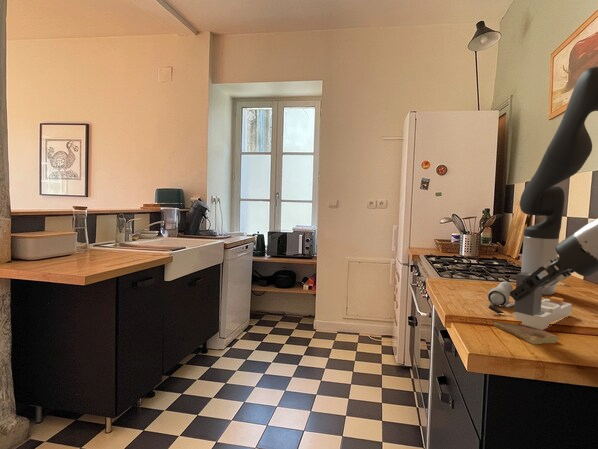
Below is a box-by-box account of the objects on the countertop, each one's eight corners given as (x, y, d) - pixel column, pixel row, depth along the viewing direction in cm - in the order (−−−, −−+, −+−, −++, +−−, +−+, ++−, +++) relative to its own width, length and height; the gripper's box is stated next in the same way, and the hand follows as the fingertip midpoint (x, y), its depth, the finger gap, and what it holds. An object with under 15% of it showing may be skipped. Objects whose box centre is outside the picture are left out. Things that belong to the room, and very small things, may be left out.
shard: (491, 327, 82) (492, 319, 82) (520, 325, 84) (521, 318, 84) (530, 347, 72) (531, 338, 72) (562, 345, 73) (563, 336, 73)
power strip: (549, 307, 97) (550, 293, 97) (574, 313, 92) (576, 298, 92) (515, 322, 84) (516, 305, 84) (542, 330, 80) (543, 312, 79)
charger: (522, 308, 78) (524, 271, 78) (540, 312, 76) (543, 274, 75) (514, 311, 76) (516, 273, 75) (532, 315, 73) (535, 276, 73)
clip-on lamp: (526, 334, 86) (543, 303, 98) (530, 310, 84) (547, 282, 96) (475, 317, 94) (496, 290, 106) (477, 295, 92) (499, 271, 104)
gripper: (589, 229, 73) (519, 277, 83) (563, 232, 64) (489, 285, 75) (621, 259, 69) (543, 305, 79) (598, 266, 60) (515, 317, 71)
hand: (518, 295), depth 77 cm, fingers closed on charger, 4 cm apart
